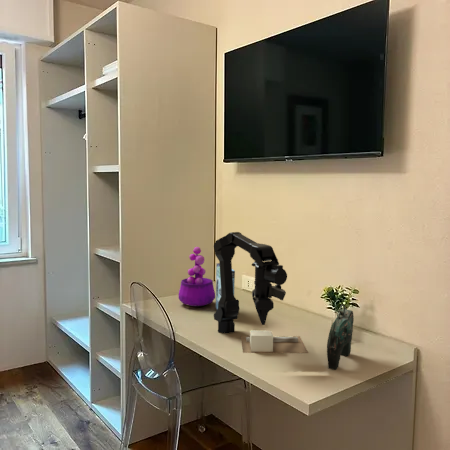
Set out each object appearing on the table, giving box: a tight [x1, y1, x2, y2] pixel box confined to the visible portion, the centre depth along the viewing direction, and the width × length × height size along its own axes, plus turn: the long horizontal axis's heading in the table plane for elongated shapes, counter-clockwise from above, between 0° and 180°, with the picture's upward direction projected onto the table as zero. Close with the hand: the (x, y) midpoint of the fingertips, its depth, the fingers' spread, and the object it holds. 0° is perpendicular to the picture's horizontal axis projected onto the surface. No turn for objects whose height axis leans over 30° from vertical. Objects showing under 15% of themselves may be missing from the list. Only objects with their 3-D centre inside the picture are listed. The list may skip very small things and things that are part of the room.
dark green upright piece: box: [326, 303, 355, 371], centre depth 164 cm, size 20×6×20 cm, turn 150°
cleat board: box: [240, 335, 309, 354], centre depth 177 cm, size 24×18×3 cm
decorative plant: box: [178, 246, 216, 307], centre depth 235 cm, size 19×19×30 cm
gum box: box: [215, 263, 236, 310], centre depth 220 cm, size 20×5×23 cm, turn 13°
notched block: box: [249, 329, 274, 352], centre depth 172 cm, size 8×6×6 cm
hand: (261, 320), depth 172 cm, fingers open, 9 cm apart
